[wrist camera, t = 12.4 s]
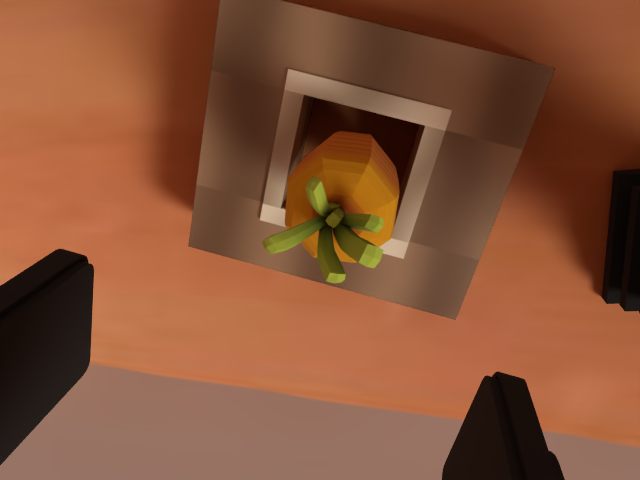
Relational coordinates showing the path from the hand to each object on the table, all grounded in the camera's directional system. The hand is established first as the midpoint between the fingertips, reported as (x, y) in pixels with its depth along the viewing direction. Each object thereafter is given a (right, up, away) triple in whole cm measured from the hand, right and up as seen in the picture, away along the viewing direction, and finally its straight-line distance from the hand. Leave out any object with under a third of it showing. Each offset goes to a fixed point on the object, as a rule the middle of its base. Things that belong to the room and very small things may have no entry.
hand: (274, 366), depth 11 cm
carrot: (+3, +8, +19) cm, 21 cm away
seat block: (+3, +8, +19) cm, 21 cm away
